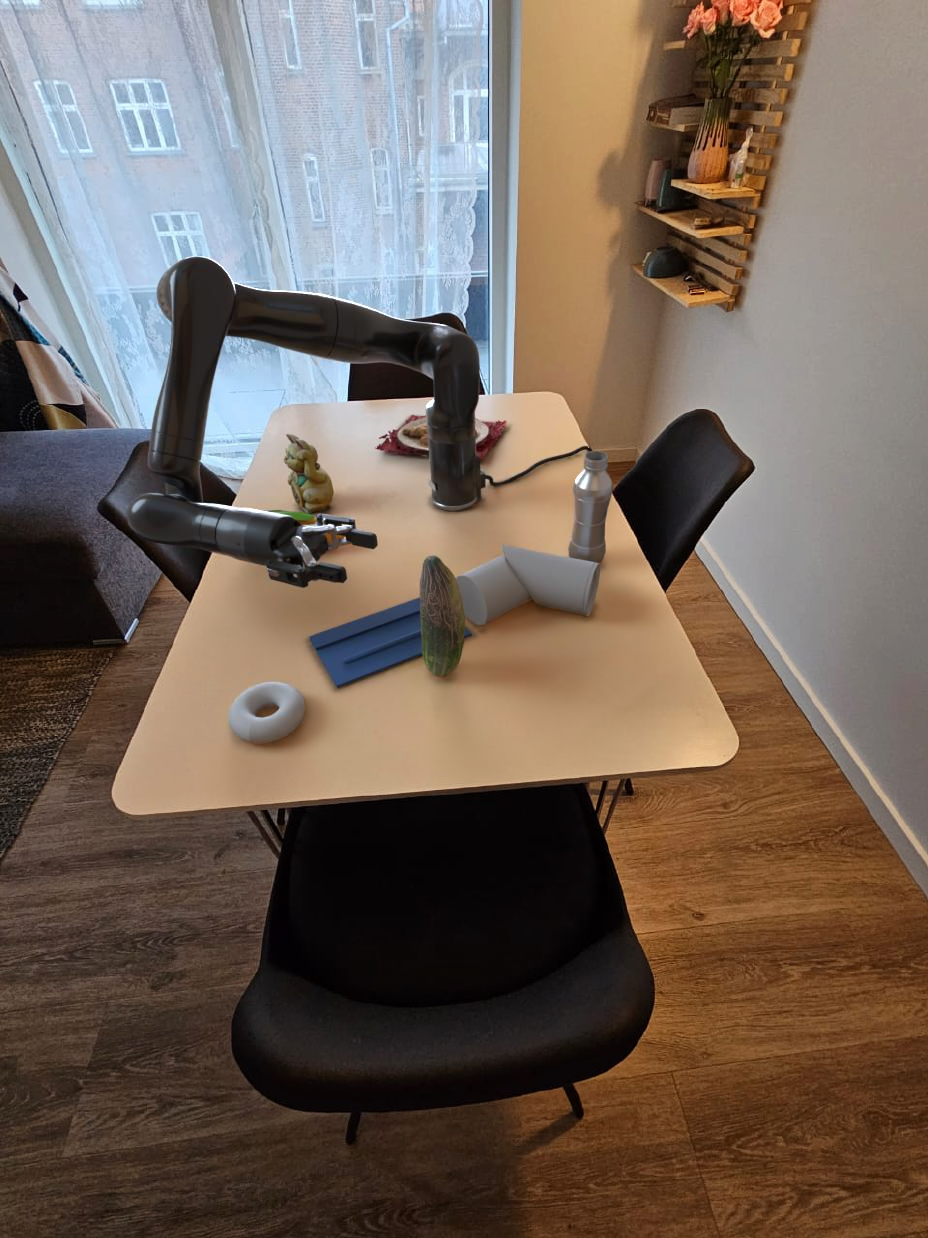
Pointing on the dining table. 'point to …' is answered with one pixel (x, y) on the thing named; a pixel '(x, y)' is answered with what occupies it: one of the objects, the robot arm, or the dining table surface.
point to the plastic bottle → (591, 509)
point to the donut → (270, 726)
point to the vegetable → (440, 618)
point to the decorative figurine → (307, 476)
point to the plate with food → (416, 437)
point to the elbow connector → (528, 584)
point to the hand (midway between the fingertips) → (361, 557)
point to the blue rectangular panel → (371, 643)
